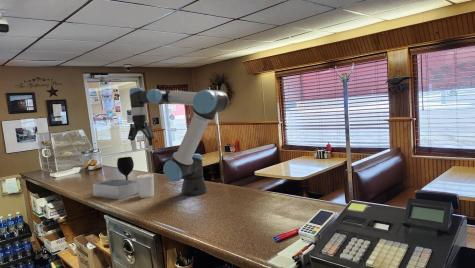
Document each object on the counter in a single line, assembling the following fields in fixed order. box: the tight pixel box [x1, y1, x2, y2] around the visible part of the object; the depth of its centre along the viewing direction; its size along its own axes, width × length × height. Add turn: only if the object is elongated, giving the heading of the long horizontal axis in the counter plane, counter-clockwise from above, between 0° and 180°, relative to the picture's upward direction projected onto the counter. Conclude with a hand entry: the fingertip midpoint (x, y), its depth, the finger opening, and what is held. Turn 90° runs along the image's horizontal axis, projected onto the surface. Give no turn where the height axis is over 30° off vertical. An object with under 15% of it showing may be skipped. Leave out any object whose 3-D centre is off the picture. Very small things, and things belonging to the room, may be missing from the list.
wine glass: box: [116, 156, 135, 180], centre depth 217 cm, size 10×10×20 cm
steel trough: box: [92, 178, 139, 201], centre depth 198 cm, size 24×15×8 cm, turn 57°
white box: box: [135, 173, 155, 199], centre depth 191 cm, size 10×10×12 cm
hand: (142, 151), depth 190 cm, fingers open, 13 cm apart
